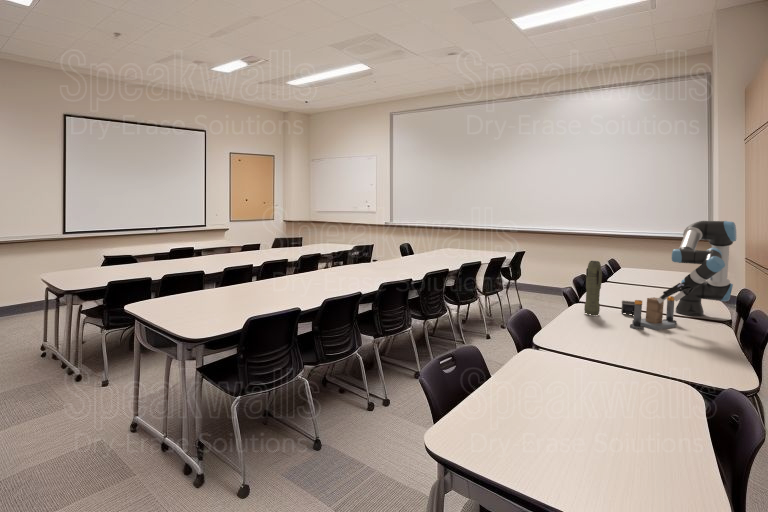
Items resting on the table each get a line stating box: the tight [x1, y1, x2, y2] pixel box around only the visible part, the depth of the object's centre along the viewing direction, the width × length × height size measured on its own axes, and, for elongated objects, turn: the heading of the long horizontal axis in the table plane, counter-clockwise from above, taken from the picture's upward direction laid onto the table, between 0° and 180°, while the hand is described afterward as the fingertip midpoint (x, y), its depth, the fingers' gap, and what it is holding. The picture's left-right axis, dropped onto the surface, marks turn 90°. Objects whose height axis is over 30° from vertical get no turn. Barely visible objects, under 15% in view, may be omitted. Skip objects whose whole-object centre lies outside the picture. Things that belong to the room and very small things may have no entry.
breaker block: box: [645, 297, 665, 324], centre depth 258 cm, size 6×7×14 cm
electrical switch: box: [620, 299, 635, 316], centre depth 283 cm, size 9×5×9 cm, turn 57°
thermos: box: [583, 260, 603, 315], centre depth 282 cm, size 9×12×35 cm
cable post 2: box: [662, 295, 677, 325], centre depth 263 cm, size 7×7×16 cm
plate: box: [632, 317, 676, 331], centre depth 259 cm, size 16×15×2 cm
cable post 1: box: [629, 299, 645, 330], centre depth 253 cm, size 7×7×16 cm
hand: (666, 300), depth 250 cm, fingers open, 13 cm apart
